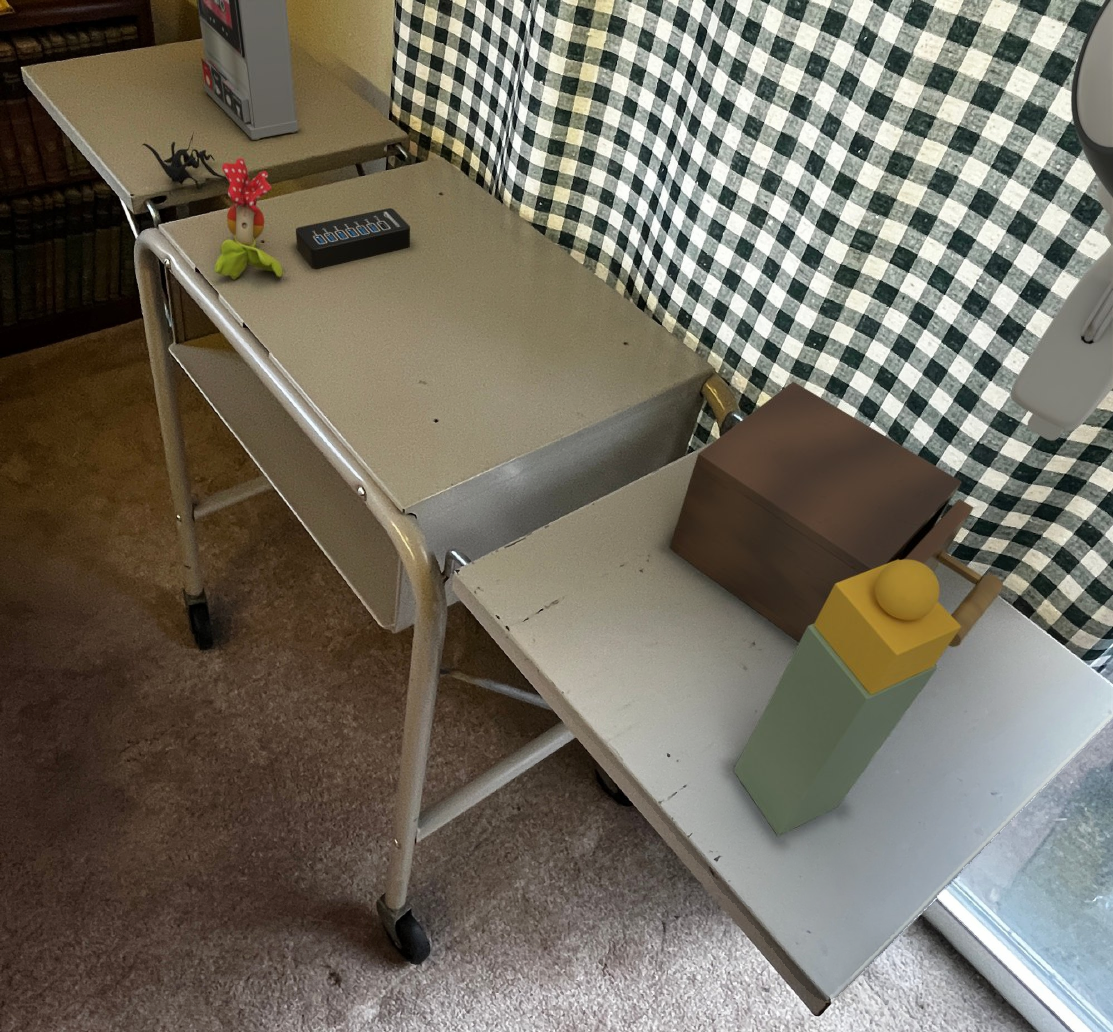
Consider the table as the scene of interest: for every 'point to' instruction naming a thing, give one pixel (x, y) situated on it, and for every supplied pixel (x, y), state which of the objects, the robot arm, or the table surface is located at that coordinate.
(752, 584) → the cabinet
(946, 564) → the drawer
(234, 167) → the multicoloured upright piece
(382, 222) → the multiport hub
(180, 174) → the creature
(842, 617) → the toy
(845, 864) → the table surface
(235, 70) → the cassette tape recorder
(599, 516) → the table surface
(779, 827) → the green rectangular block
